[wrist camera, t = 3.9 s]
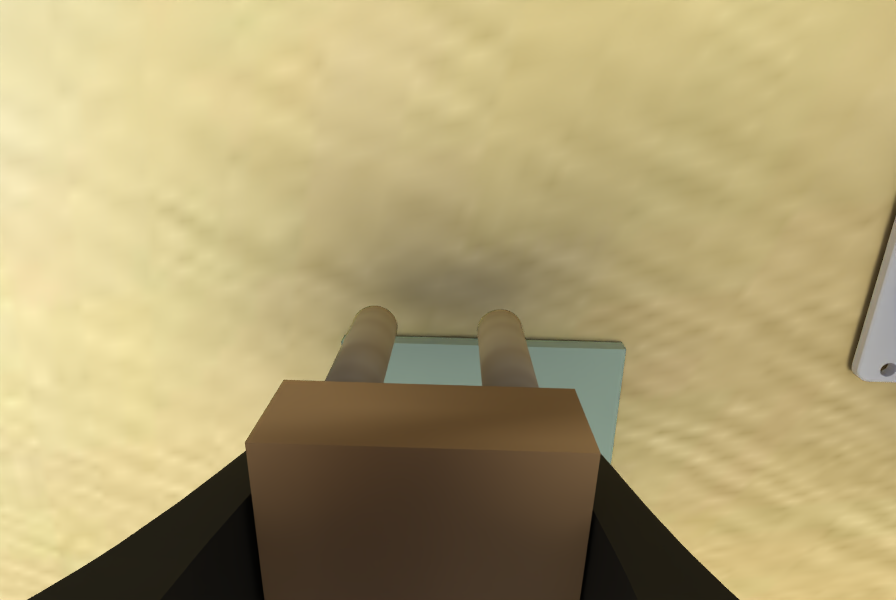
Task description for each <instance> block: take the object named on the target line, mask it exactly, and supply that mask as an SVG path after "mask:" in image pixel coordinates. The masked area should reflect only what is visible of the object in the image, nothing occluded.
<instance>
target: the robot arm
mask: <svg viewBox="0 0 896 600" xmlns="http://www.w3.org/2000/svg"><path fill="white" fill-rule="evenodd" d="M887 363H888V366H887V367H886V369H884V370H883V371H880V369H881V368H882V366H884V365H885V364H887ZM852 371H853V373H854V374H855V375H856V376H858V377H859V378H860V379H862V380H863V381H868V382H896V217H895V220H894V224H893V227H892V231H891V234H890V237H889V241H888V244H887V248H886V251H885V254H884V258H883V261H882V264H881V268H880V271H879V275H878V278H877V281H876V285H875V288H874V292H873V295H872V298H871V302H870V305H869V309H868V312H867V315H866V319H865V322H864V325H863V329H862V332H861V336H860V339H859V342H858V346H857V349H856V353H855V356H854V359H853V363H852ZM28 600H264V592H263V584H262V576H261V568H260V560H259V552H258V544H257V535H256V527H255V519H254V511H253V503H252V495H251V487H250V479H249V471H248V463H247V455H246V451H245V452H244V453H242V454H241V455H240V456H238V457H237V458H236V459H235V460H233V461H232V462H231V463H229V464H228V465H227V466H226V467H224V468H223V469H222V470H221V471H219V472H218V473H217V474H215V475H214V476H213V477H211V478H210V479H209V480H207V481H206V482H205V483H203V484H202V485H201V486H199V487H198V488H197V489H195V490H194V491H193V492H191V493H190V494H189V495H188V496H186V497H185V498H184V499H182V500H181V501H180V502H178V503H177V504H175V505H174V506H173V507H171V508H170V509H168V510H167V511H165V512H164V513H162V514H161V515H160V516H158V517H157V518H155V519H154V520H152V521H151V522H150V523H148V524H147V525H145V526H144V527H142V528H141V529H139V530H138V531H137V532H135V533H134V534H132V535H131V536H129V537H128V538H127V539H125V540H124V541H122V542H121V543H119V544H118V545H116V546H115V547H113V548H112V549H110V550H109V551H107V552H106V553H104V554H103V555H101V556H99V557H98V558H96V559H95V560H93V561H91V562H90V563H88V564H87V565H85V566H83V567H82V568H80V569H79V570H77V571H75V572H74V573H72V574H70V575H68V576H67V577H65V578H63V579H62V580H60V581H58V582H57V583H55V584H53V585H52V586H50V587H48V588H47V589H45V590H43V591H42V592H40V593H38V594H36V595H35V596H33V597H31V598H29V599H28ZM580 600H739V599H738V598H737V597H736V596H735V595H734V594H733V593H731V592H730V591H729V590H728V589H727V588H726V587H725V586H724V585H723V584H722V583H721V582H720V581H719V580H718V579H717V578H716V577H715V576H713V575H712V574H711V573H710V572H709V571H708V570H707V569H706V568H705V567H704V566H703V565H702V564H701V563H700V562H699V561H698V560H697V559H696V558H695V557H694V556H693V555H692V554H691V553H690V552H689V551H688V550H687V549H686V548H685V547H684V546H683V545H682V544H681V543H680V542H679V541H678V540H677V539H676V538H675V537H674V536H673V534H672V533H671V532H670V531H669V530H668V529H667V528H666V527H665V526H664V525H663V524H662V523H661V522H660V521H659V519H658V518H657V517H656V516H655V515H654V514H653V513H652V512H651V511H650V510H649V508H648V507H647V506H646V505H645V504H644V503H643V502H642V501H641V499H640V498H639V497H638V496H637V495H636V494H635V493H634V491H633V490H632V489H631V488H630V487H629V486H628V484H627V483H626V482H625V481H624V480H623V479H622V477H621V476H620V475H619V474H618V473H617V472H616V470H615V469H614V468H613V467H612V466H611V465H610V463H609V462H608V461H607V460H606V459H605V458H604V456H603V455H602V454H601V455H600V462H599V469H598V476H597V483H596V490H595V497H594V504H593V511H592V518H591V524H590V531H589V538H588V545H587V552H586V559H585V566H584V573H583V580H582V587H581V594H580Z"/></svg>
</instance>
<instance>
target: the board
mask: <svg viewBox="0 0 896 600" xmlns="http://www.w3.org/2000/svg"><path fill="white" fill-rule="evenodd" d="M345 337H346V335H345V336H344V338H343V340H342V342H341V343H342V344H343V342H344V339H345ZM526 343H527V347H528V350H529V354H530V357H531V361H532V365H533V368H534V372H535V375H536V379H537V382H538V386H539V388H569V389H575V391H576V393H577V396H578V398H579V401H580V403H581V406H582V408H583V411H584V413H585V416H586V418H587V420H588V423H589V425H590V428H591V430H592V433H593V435H594V438H595V440H596V443H597V445H598V448H599V450H600V453H601V454H602V455H603V456H604V458H605V459H606V460H607V461H608V462H609V463H610V465H611V458H612V451H613V443H614V436H615V428H616V421H617V414H618V406H619V399H620V391H621V384H622V376H623V369H624V361H625V354H626V348H625V347H624V345H623V344H622V342H592V341H555V340H526ZM384 383H401V384H434V385H468V386H482V380H481V368H480V356H479V344H478V338H443V337H406V336H396V337H395V341H394V345H393V349H392V353H391V356H390V360H389V364H388V368H387V372H386V376H385V379H384Z"/></svg>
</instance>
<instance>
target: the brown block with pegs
mask: <svg viewBox="0 0 896 600" xmlns="http://www.w3.org/2000/svg"><path fill="white" fill-rule="evenodd" d="M477 331H478V344H479V356H480V368H481V380H482V386H468V385H434V384H401V383H384V379H385V376H386V372H387V368H388V364H389V360H390V356H391V353H392V349H393V345H394V341H395V337H396V334H397V322H396V319H395V317H394V316H393V314H392V313H391V312H390V311H388V310H387V309H385V308H383V307H379V306H369V307H366V308H364V309H362V310H361V311H359V312H358V313H357V315H356V316H355V318H354V320H353V323H352V325H351V327H350V329H349V331H348V333H347V335H346V337H345V339H344V342H343V344H342V346H341V348H340V350H339V352H338V354H337V356H336V359H335V361H334V363H333V365H332V367H331V369H330V371H329V373H328V375H327V378H326V380H325V381H300V380H283V382H282V384H281V385H280V387H279V388H278V390H277V392H276V393H275V395H274V396H273V398H272V400H271V401H270V403H269V405H268V406H267V408H266V409H265V411H264V413H263V414H262V416H261V417H260V419H259V421H258V422H257V424H256V425H255V427H254V429H253V430H252V432H251V434H250V435H249V437H248V438H247V440H246V442H245V447H246V455H247V463H248V471H249V479H250V487H251V495H252V503H253V511H254V519H255V527H256V535H257V544H258V552H259V560H260V568H261V576H262V584H263V592H264V600H580V594H581V587H582V580H583V573H584V566H585V559H586V552H587V545H588V538H589V531H590V524H591V518H592V511H593V504H594V497H595V490H596V483H597V476H598V469H599V462H600V455H601V453H600V450H599V448H598V445H597V443H596V440H595V438H594V435H593V433H592V430H591V428H590V425H589V423H588V420H587V418H586V416H585V413H584V411H583V408H582V406H581V403H580V401H579V398H578V396H577V393H576V391H575V389H569V388H539V386H538V382H537V379H536V375H535V372H534V368H533V365H532V361H531V357H530V354H529V350H528V347H527V343H526V339H525V336H524V332H523V329H522V325H521V322H520V320H519V319H518V317H517V316H516V315H515V314H513V313H512V312H510V311H507V310H494V311H491V312H489V313H487V314H486V315H484V316H483V317H482V319H481V320H480V322H479V324H478V329H477Z"/></svg>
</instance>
